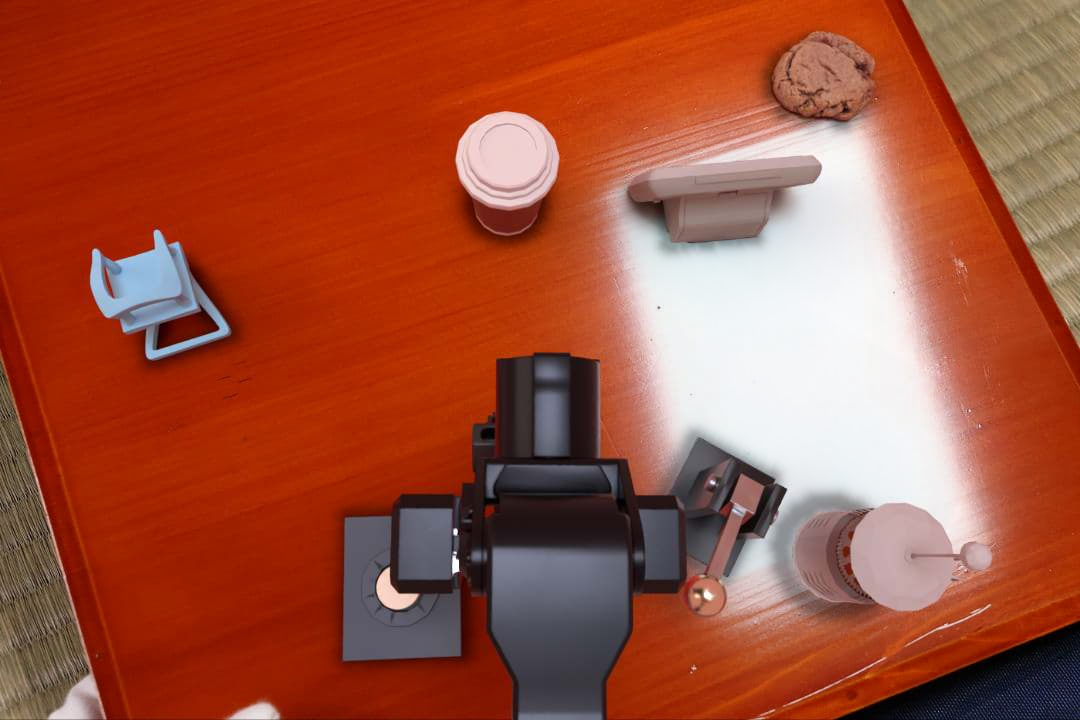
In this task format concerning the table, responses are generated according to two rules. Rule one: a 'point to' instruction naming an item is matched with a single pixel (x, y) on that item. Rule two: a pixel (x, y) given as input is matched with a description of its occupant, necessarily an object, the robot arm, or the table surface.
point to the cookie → (824, 77)
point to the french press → (880, 556)
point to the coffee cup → (507, 169)
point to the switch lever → (722, 549)
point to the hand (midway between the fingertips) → (533, 539)
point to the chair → (153, 294)
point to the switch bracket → (720, 500)
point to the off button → (393, 593)
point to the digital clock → (721, 195)
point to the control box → (386, 630)
